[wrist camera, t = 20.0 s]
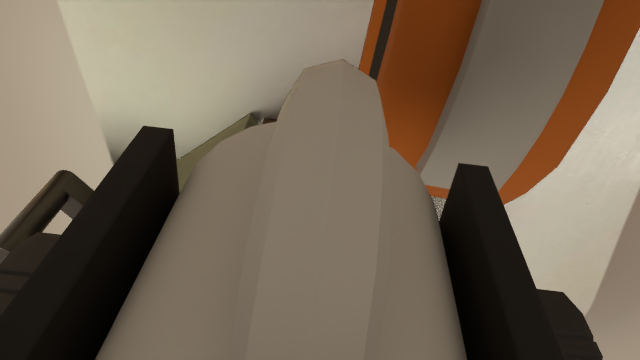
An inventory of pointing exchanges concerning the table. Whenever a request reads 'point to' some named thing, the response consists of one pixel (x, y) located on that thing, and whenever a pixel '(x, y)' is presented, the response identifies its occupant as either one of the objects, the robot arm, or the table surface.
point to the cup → (298, 245)
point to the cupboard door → (89, 193)
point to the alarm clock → (493, 81)
